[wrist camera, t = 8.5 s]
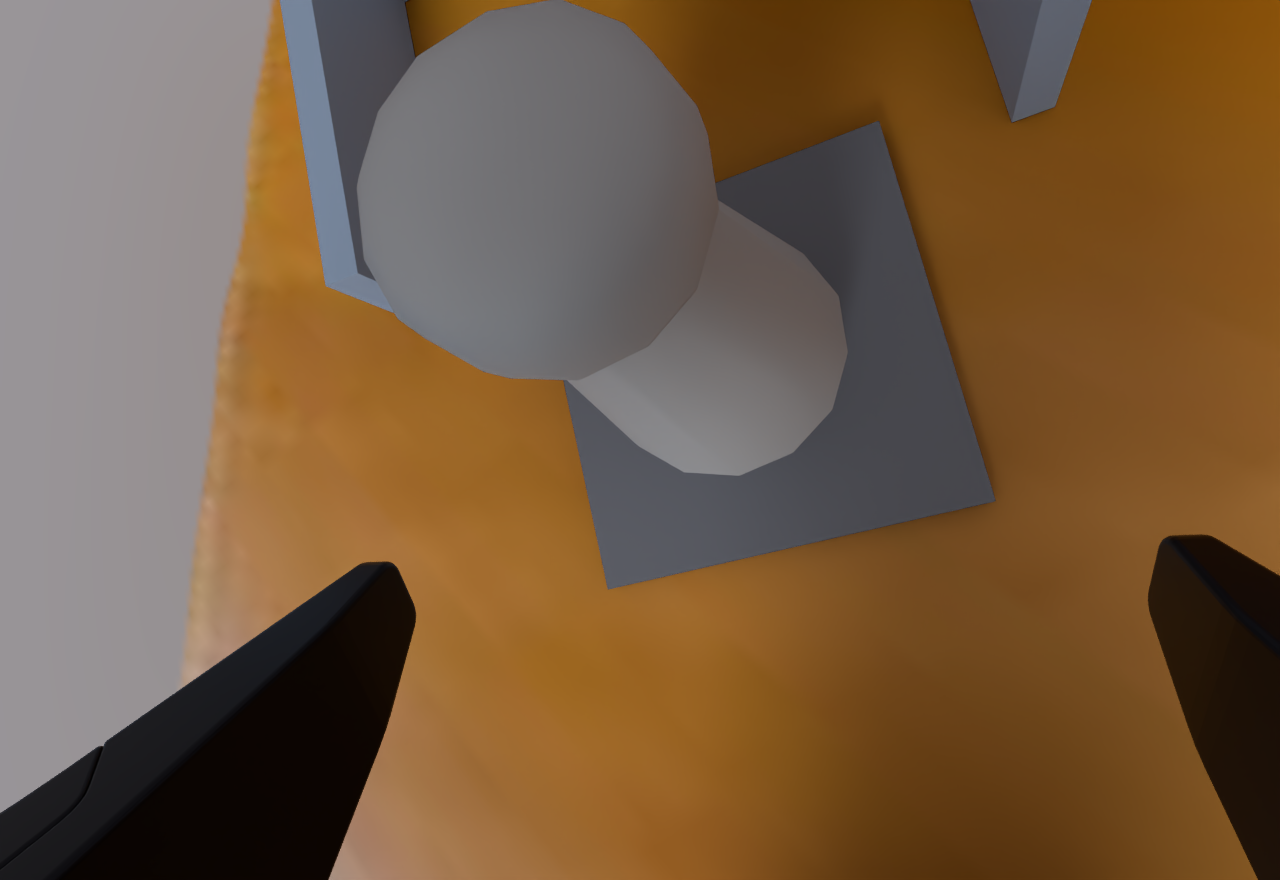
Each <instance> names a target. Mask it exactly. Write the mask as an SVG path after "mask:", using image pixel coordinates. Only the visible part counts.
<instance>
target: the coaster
mask: <svg viewBox="0 0 1280 880" xmlns="http://www.w3.org/2000/svg"><path fill="white" fill-rule="evenodd" d="M715 185H716V192H717V198H718V200H719V201H720V202H722V203H723V204H725V205H727V206H728V207H730V208H731V209H733V210H735V211H736V212H738V213H739V214H741V215H743V216H744V217H746V218H747V219H749V220H751V221H752V222H754V223H755V224H757V225H759V226H760V227H762V228H763V229H765V230H767V231H768V232H770V233H771V234H773V235H774V236H776V237H778V238H779V239H781V240H782V241H784V242H786V243H787V244H789V245H790V246H792V247H794V248H795V249H797V250H798V251H800V252H802V253H803V254H804V255H805V256H806V257H807V259H808V260H809V261H810V262H811V263H812V265H813V266H814V267H815V268H816V269H817V271H818V272H819V273H820V274H821V275H822V277H823V278H824V279H825V280H826V281H827V282H828V284H829V285H830V286H831V287H832V288H833V290H834V291H835V292H836V293H837V294H838V296H839V301H840V307H841V314H842V320H843V326H844V332H845V338H846V344H847V350H848V354H847V358H846V361H845V365H844V369H843V372H842V376H841V380H840V384H839V387H838V391H837V395H836V398H835V402H834V406H833V409H832V411H831V412H830V413H829V414H828V415H827V416H826V417H825V418H824V419H823V421H822V422H821V423H820V424H819V425H818V426H817V427H816V428H815V429H814V430H813V431H812V432H811V434H810V435H809V436H808V437H807V438H806V439H805V440H804V441H803V442H802V443H801V444H800V446H799V447H798V448H797V449H796V450H795V451H794V452H793V453H791V454H789V455H787V456H784V457H782V458H780V459H777V460H775V461H773V462H770V463H768V464H766V465H763V466H761V467H759V468H756V469H754V470H752V471H749V472H747V473H745V474H742V475H740V476H734V475H718V474H703V473H687V472H682V471H681V470H679V469H677V468H675V467H674V466H672V465H670V464H669V463H667V462H665V461H663V460H662V459H660V458H658V457H656V456H655V455H653V454H651V453H649V452H648V451H646V450H644V449H642V448H641V447H639V446H638V445H637V444H635V443H634V442H633V441H632V440H631V439H630V438H629V437H628V436H627V435H626V434H625V433H624V432H622V431H621V430H620V429H619V428H618V427H617V426H616V425H615V424H614V423H613V422H612V421H611V420H609V419H608V418H607V417H606V416H605V415H604V414H603V413H602V412H601V411H600V410H599V409H598V408H596V407H595V406H594V405H593V404H592V403H591V402H590V401H589V400H588V399H587V398H586V397H585V396H583V395H582V394H581V393H580V392H579V391H578V390H577V389H576V388H575V387H574V386H573V385H572V384H570V383H569V382H568V381H567V380H563V381H564V386H565V390H566V395H567V400H568V404H569V409H570V414H571V418H572V423H573V428H574V433H575V437H576V442H577V447H578V451H579V456H580V461H581V465H582V470H583V475H584V479H585V484H586V489H587V493H588V498H589V503H590V508H591V512H592V517H593V522H594V526H595V531H596V536H597V540H598V545H599V550H600V554H601V559H602V564H603V568H604V573H605V578H606V583H607V587H608V589H612V588H616V587H621V586H625V585H630V584H634V583H638V582H643V581H647V580H651V579H656V578H660V577H665V576H669V575H673V574H678V573H682V572H687V571H691V570H695V569H700V568H704V567H709V566H713V565H717V564H722V563H726V562H731V561H735V560H739V559H744V558H748V557H753V556H757V555H761V554H766V553H770V552H775V551H779V550H783V549H788V548H792V547H797V546H801V545H805V544H810V543H814V542H819V541H823V540H827V539H832V538H836V537H840V536H845V535H849V534H854V533H858V532H862V531H867V530H871V529H876V528H880V527H884V526H889V525H893V524H898V523H902V522H906V521H911V520H915V519H920V518H924V517H928V516H933V515H937V514H942V513H946V512H950V511H955V510H959V509H964V508H968V507H972V506H977V505H981V504H986V503H990V502H994V501H996V500H995V497H994V494H993V490H992V487H991V484H990V481H989V477H988V474H987V471H986V468H985V464H984V461H983V458H982V455H981V451H980V448H979V445H978V442H977V438H976V435H975V432H974V429H973V425H972V422H971V419H970V416H969V412H968V409H967V406H966V402H965V399H964V396H963V393H962V389H961V386H960V383H959V380H958V376H957V373H956V370H955V367H954V363H953V360H952V357H951V354H950V350H949V347H948V344H947V341H946V337H945V334H944V331H943V328H942V324H941V321H940V318H939V315H938V311H937V308H936V305H935V302H934V298H933V295H932V292H931V289H930V285H929V282H928V279H927V276H926V272H925V269H924V266H923V263H922V259H921V256H920V253H919V250H918V246H917V243H916V240H915V237H914V233H913V230H912V227H911V224H910V220H909V217H908V214H907V211H906V207H905V204H904V201H903V198H902V194H901V191H900V188H899V185H898V181H897V178H896V175H895V172H894V168H893V165H892V162H891V159H890V155H889V152H888V149H887V146H886V142H885V139H884V136H883V132H882V129H881V126H880V123H879V121H877V122H874V123H871V124H869V125H866V126H864V127H861V128H858V129H856V130H853V131H851V132H848V133H845V134H843V135H840V136H837V137H835V138H832V139H830V140H827V141H824V142H822V143H819V144H817V145H814V146H811V147H809V148H806V149H804V150H801V151H798V152H796V153H793V154H790V155H788V156H785V157H783V158H780V159H777V160H775V161H772V162H770V163H767V164H764V165H762V166H759V167H756V168H754V169H751V170H749V171H746V172H743V173H741V174H738V175H736V176H733V177H730V178H728V179H725V180H723V181H720V182H717V183H715Z"/></svg>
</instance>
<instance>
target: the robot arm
mask: <svg viewBox="0 0 1280 880" xmlns="http://www.w3.org/2000/svg"><path fill="white" fill-rule="evenodd" d="M1148 605H1149V611H1150V615H1151V618H1152V621H1153V624H1154V627H1155V630H1156V633H1157V636H1158V639H1159V642H1160V645H1161V648H1162V651H1163V654H1164V657H1165V660H1166V663H1167V666H1168V669H1169V672H1170V675H1171V677H1172V680H1173V683H1174V686H1175V689H1176V692H1177V695H1178V698H1179V701H1180V704H1181V707H1182V710H1183V713H1184V716H1185V719H1186V722H1187V725H1188V728H1189V730H1190V733H1191V736H1192V738H1193V741H1194V744H1195V747H1196V749H1197V751H1198V753H1199V756H1200V758H1201V760H1202V762H1203V765H1204V767H1205V769H1206V771H1207V773H1208V775H1209V778H1210V780H1211V782H1212V784H1213V786H1214V788H1215V790H1216V792H1217V794H1218V796H1219V799H1220V801H1221V803H1222V805H1223V807H1224V809H1225V811H1226V813H1227V815H1228V817H1229V820H1230V822H1231V824H1232V826H1233V828H1234V830H1235V832H1236V834H1237V836H1238V839H1239V841H1240V843H1241V845H1242V847H1243V849H1244V851H1245V853H1246V855H1247V857H1248V860H1249V862H1250V864H1251V866H1252V868H1253V870H1254V872H1255V874H1256V876H1257V878H1258V880H1280V576H1279V575H1277V574H1276V573H1274V572H1272V571H1271V570H1269V569H1267V568H1266V567H1264V566H1262V565H1261V564H1259V563H1257V562H1255V561H1254V560H1252V559H1250V558H1249V557H1247V556H1245V555H1244V554H1242V553H1240V552H1238V551H1237V550H1235V549H1233V548H1232V547H1230V546H1228V545H1227V544H1225V543H1223V542H1221V541H1220V540H1218V539H1216V538H1214V537H1212V536H1209V535H1173V536H1168V537H1166V538H1164V539H1163V540H1162V542H1161V543H1160V546H1159V548H1158V553H1157V557H1156V561H1155V566H1154V570H1153V574H1152V579H1151V583H1150V587H1149V593H1148ZM415 622H416V611H415V606H414V603H413V601H412V599H411V597H410V594H409V592H408V590H407V588H406V586H405V583H404V581H403V579H402V577H401V574H400V572H399V570H398V568H397V567H396V566H395V565H394V564H393V563H391V562H366V563H362V564H360V565H358V566H356V567H355V568H353V569H352V570H351V571H349V572H348V573H346V574H345V575H343V576H342V577H341V578H339V579H338V580H336V581H335V582H333V583H332V584H331V585H329V586H328V587H326V588H325V589H323V590H322V591H321V592H319V593H318V594H316V595H315V596H313V597H312V598H311V599H309V600H308V601H306V602H305V603H303V604H302V605H300V606H299V607H298V608H296V609H295V610H293V611H292V612H290V613H289V614H288V615H286V616H285V617H283V618H282V619H280V620H279V621H278V622H276V623H275V624H273V625H272V626H270V627H269V628H268V629H266V630H265V631H263V632H262V633H260V634H259V635H258V636H256V637H255V638H253V639H252V640H250V641H249V642H247V643H246V644H245V645H243V646H242V647H240V648H239V649H237V650H236V651H235V652H233V653H232V654H230V655H229V656H227V657H226V658H225V659H223V660H222V661H220V662H219V663H217V664H216V665H215V666H213V667H212V668H210V669H209V670H207V671H206V672H205V673H203V674H202V675H200V676H199V677H197V678H196V679H194V680H193V681H192V682H190V683H189V684H187V685H186V686H184V687H183V688H182V689H180V690H179V691H177V692H176V693H175V694H173V695H172V696H170V697H169V698H167V699H166V700H164V701H163V702H162V703H160V704H159V705H157V706H156V707H154V708H153V709H152V710H150V711H149V712H147V713H146V714H144V715H143V716H141V717H140V718H139V719H138V720H136V721H134V722H133V723H132V724H130V725H129V726H127V727H126V728H125V729H123V730H121V731H120V732H119V733H117V734H116V735H114V736H113V737H111V738H110V739H109V740H107V741H106V742H105V744H104V746H99V747H97V748H95V749H94V750H92V751H91V752H90V753H88V754H87V755H86V756H84V757H83V758H81V759H80V760H78V761H77V762H75V763H74V764H73V765H71V766H70V767H68V768H67V769H66V770H64V771H62V772H61V773H60V774H58V775H57V776H55V777H54V778H52V779H51V780H49V781H48V782H47V783H45V784H43V785H42V786H40V787H39V788H37V789H36V790H34V791H33V792H32V793H30V794H29V795H27V796H26V797H24V798H23V799H21V800H20V801H18V802H17V803H15V804H14V805H12V806H11V807H9V808H7V809H6V810H4V811H3V812H1V813H0V880H329V877H330V874H331V872H332V869H333V867H334V864H335V861H336V859H337V856H338V854H339V851H340V849H341V846H342V843H343V841H344V838H345V836H346V833H347V830H348V828H349V825H350V823H351V820H352V818H353V815H354V812H355V810H356V807H357V805H358V802H359V799H360V797H361V794H362V792H363V789H364V787H365V784H366V781H367V779H368V776H369V774H370V771H371V768H372V766H373V763H374V761H375V758H376V756H377V753H378V750H379V748H380V745H381V742H382V739H383V737H384V734H385V731H386V728H387V725H388V721H389V718H390V715H391V712H392V708H393V704H394V701H395V697H396V693H397V690H398V686H399V682H400V679H401V675H402V671H403V668H404V664H405V660H406V657H407V653H408V649H409V646H410V642H411V638H412V635H413V631H414V627H415Z"/></svg>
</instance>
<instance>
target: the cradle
mask: <svg viewBox="0 0 1280 880" xmlns="http://www.w3.org/2000/svg"><path fill="white" fill-rule="evenodd" d="M406 1H408V0H280V4H281V10H282V16H283V22H284V29H285V35H286V41H287V47H288V53H289V60H290V66H291V72H292V78H293V85H294V91H295V97H296V103H297V110H298V116H299V122H300V128H301V135H302V141H303V147H304V153H305V159H306V166H307V172H308V178H309V184H310V191H311V197H312V203H313V209H314V216H315V222H316V228H317V234H318V240H319V247H320V253H321V259H322V265H323V272H324V278H325V284H326V286H327V287H329V288H332V289H335V290H337V291H340V292H342V293H345V294H347V295H350V296H352V297H355V298H357V299H360V300H362V301H365V302H367V303H370V304H373V305H375V306H378V307H380V308H383V309H385V310H388V311H390V312H393V313H394V311H393V310H392V308H391V306H390V304H389V303H388V301H387V299H386V297H385V296H384V294H383V292H382V290H381V289H380V287H379V285H378V283H377V282H376V280H375V278H374V276H373V275H372V273H371V271H370V269H369V268H368V266H367V264H366V262H365V261H364V256H363V246H362V236H361V226H360V217H359V207H358V197H357V183H358V178H359V174H360V170H361V167H362V164H363V160H364V157H365V154H366V150H367V147H368V144H369V140H370V137H371V134H372V130H373V127H374V123H375V120H376V117H377V113H378V111H379V109H380V108H381V107H382V105H383V104H384V102H385V101H386V100H387V98H388V97H389V95H390V94H391V93H392V91H393V90H394V88H395V87H396V86H397V84H398V83H399V81H400V80H401V79H402V77H403V76H404V74H405V73H406V71H407V70H408V69H409V67H410V66H411V64H412V63H413V62H414V60H415V54H414V48H413V43H412V38H411V33H410V28H409V23H408V17H407V12H406V7H405V2H406ZM1091 1H1092V0H970V2H971V4H972V7H973V10H974V13H975V16H976V19H977V22H978V25H979V28H980V31H981V34H982V37H983V40H984V43H985V46H986V48H987V51H988V54H989V57H990V60H991V63H992V66H993V69H994V72H995V75H996V78H997V81H998V84H999V87H1000V90H1001V92H1002V95H1003V98H1004V101H1005V104H1006V107H1007V110H1008V113H1009V116H1010V119H1011V122H1015V121H1017V120H1020V119H1023V118H1026V117H1028V116H1031V115H1034V114H1037V113H1039V112H1042V111H1045V110H1048V109H1050V108H1053V107H1055V105H1056V102H1057V99H1058V96H1059V94H1060V91H1061V88H1062V85H1063V82H1064V79H1065V76H1066V73H1067V70H1068V68H1069V65H1070V62H1071V59H1072V56H1073V53H1074V50H1075V47H1076V44H1077V42H1078V39H1079V36H1080V33H1081V30H1082V27H1083V24H1084V21H1085V18H1086V15H1087V13H1088V10H1089V7H1090V4H1091Z"/></svg>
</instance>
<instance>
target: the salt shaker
mask: <svg viewBox="0 0 1280 880" xmlns="http://www.w3.org/2000/svg"><path fill="white" fill-rule="evenodd" d="M357 197H358V207H359V217H360V226H361V236H362V246H363V256H364V261H365V262H366V264H367V266H368V268H369V269H370V271H371V273H372V275H373V276H374V278H375V280H376V282H377V283H378V285H379V287H380V289H381V290H382V292H383V294H384V296H385V297H386V299H387V301H388V303H389V304H390V306H391V308H392V310H393V311H394V313H395V315H396V317H397V318H398V319H399V320H400V321H402V322H403V323H404V324H406V325H407V326H409V327H410V328H411V329H413V330H414V331H416V332H417V333H418V334H420V335H421V336H422V337H424V338H425V339H427V340H429V341H431V342H432V343H434V344H436V345H438V346H439V347H441V348H443V349H445V350H446V351H448V352H450V353H452V354H453V355H455V356H457V357H459V358H460V359H462V360H464V361H466V362H467V363H469V364H471V365H473V366H474V367H476V368H478V369H480V370H482V371H483V372H487V373H491V374H495V375H499V376H503V377H507V378H516V379H549V380H567V381H568V382H569V383H570V384H572V385H573V386H574V387H575V388H576V389H577V390H578V391H579V392H580V393H581V394H582V395H583V396H585V397H586V398H587V399H588V400H589V401H590V402H591V403H592V404H593V405H594V406H595V407H596V408H598V409H599V410H600V411H601V412H602V413H603V414H604V415H605V416H606V417H607V418H608V419H609V420H611V421H612V422H613V423H614V424H615V425H616V426H617V427H618V428H619V429H620V430H621V431H622V432H624V433H625V434H626V435H627V436H628V437H629V438H630V439H631V440H632V441H633V442H634V443H635V444H637V445H638V446H639V447H641V448H642V449H644V450H646V451H648V452H649V453H651V454H653V455H655V456H656V457H658V458H660V459H662V460H663V461H665V462H667V463H669V464H670V465H672V466H674V467H675V468H677V469H679V470H681V471H682V472H687V473H703V474H718V475H734V476H740V475H742V474H745V473H747V472H749V471H752V470H754V469H756V468H759V467H761V466H763V465H766V464H768V463H770V462H773V461H775V460H777V459H780V458H782V457H784V456H787V455H789V454H791V453H793V452H794V451H795V450H796V449H797V448H798V447H799V446H800V444H801V443H802V442H803V441H804V440H805V439H806V438H807V437H808V436H809V435H810V434H811V432H812V431H813V430H814V429H815V428H816V427H817V426H818V425H819V424H820V423H821V422H822V421H823V419H824V418H825V417H826V416H827V415H828V414H829V413H830V412H831V411H832V409H833V406H834V402H835V398H836V395H837V391H838V387H839V384H840V380H841V376H842V372H843V369H844V365H845V361H846V358H847V354H848V350H847V344H846V338H845V332H844V326H843V320H842V314H841V307H840V301H839V296H838V294H837V293H836V292H835V291H834V290H833V288H832V287H831V286H830V285H829V284H828V282H827V281H826V280H825V279H824V278H823V277H822V275H821V274H820V273H819V272H818V271H817V269H816V268H815V267H814V266H813V265H812V263H811V262H810V261H809V260H808V259H807V257H806V256H805V255H804V254H803V253H802V252H800V251H798V250H797V249H795V248H794V247H792V246H790V245H789V244H787V243H786V242H784V241H782V240H781V239H779V238H778V237H776V236H774V235H773V234H771V233H770V232H768V231H767V230H765V229H763V228H762V227H760V226H759V225H757V224H755V223H754V222H752V221H751V220H749V219H747V218H746V217H744V216H743V215H741V214H739V213H738V212H736V211H735V210H733V209H731V208H730V207H728V206H727V205H725V204H723V203H722V202H720V201H719V200H718V198H717V192H716V185H715V178H714V172H713V165H712V159H711V152H710V146H709V139H708V134H707V131H706V129H705V126H704V123H703V120H702V118H701V115H700V112H699V110H698V107H697V105H696V104H695V103H694V102H693V100H692V99H691V98H690V97H689V95H688V94H687V93H686V92H685V91H684V89H683V88H682V87H681V86H680V85H679V83H678V82H677V81H676V80H675V78H674V77H673V76H672V75H671V74H670V72H669V71H668V70H667V69H666V68H665V66H664V65H663V64H662V63H661V61H660V60H659V59H658V58H657V57H656V55H655V54H654V53H653V52H652V51H651V49H650V48H649V47H648V46H647V45H646V44H645V43H644V42H643V41H642V40H641V39H640V38H639V37H638V36H637V35H636V34H635V33H634V32H633V31H632V30H631V29H630V28H629V27H628V26H627V25H626V24H625V23H622V22H620V21H617V20H614V19H611V18H609V17H606V16H603V15H601V14H598V13H595V12H593V11H590V10H587V9H585V8H582V7H579V6H577V5H574V4H571V3H569V2H566V1H563V0H549V1H543V2H538V3H532V4H526V5H521V6H515V7H510V8H504V9H498V10H493V11H487V12H485V13H484V14H482V15H481V16H479V17H477V18H476V19H474V20H473V21H471V22H470V23H468V24H466V25H465V26H463V27H462V28H460V29H459V30H457V31H456V32H454V33H452V34H451V35H449V36H448V37H446V38H445V39H443V40H442V41H440V42H439V43H437V44H435V45H434V46H432V47H431V48H429V49H428V50H426V51H425V52H423V53H421V54H420V55H418V56H417V57H416V59H415V60H414V62H413V63H412V64H411V66H410V67H409V69H408V70H407V71H406V73H405V74H404V76H403V77H402V79H401V80H400V81H399V83H398V84H397V86H396V87H395V88H394V90H393V91H392V93H391V94H390V95H389V97H388V98H387V100H386V101H385V102H384V104H383V105H382V107H381V108H380V109H379V111H378V113H377V117H376V120H375V123H374V127H373V130H372V134H371V137H370V140H369V144H368V147H367V150H366V154H365V157H364V160H363V164H362V167H361V170H360V174H359V178H358V183H357Z"/></svg>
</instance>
